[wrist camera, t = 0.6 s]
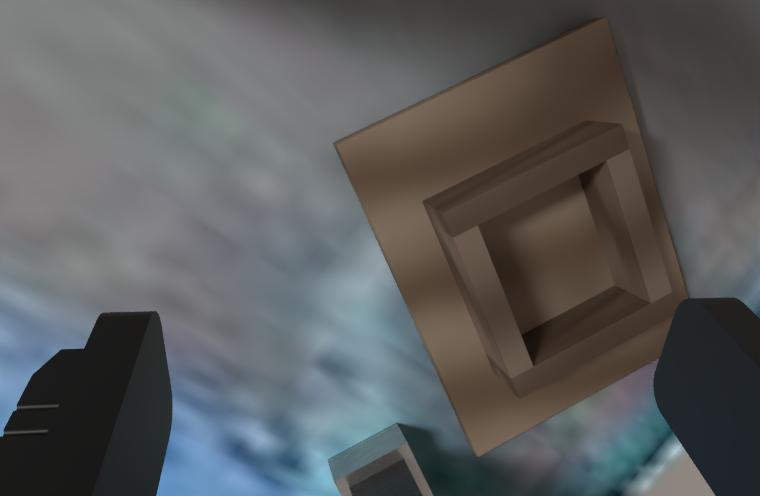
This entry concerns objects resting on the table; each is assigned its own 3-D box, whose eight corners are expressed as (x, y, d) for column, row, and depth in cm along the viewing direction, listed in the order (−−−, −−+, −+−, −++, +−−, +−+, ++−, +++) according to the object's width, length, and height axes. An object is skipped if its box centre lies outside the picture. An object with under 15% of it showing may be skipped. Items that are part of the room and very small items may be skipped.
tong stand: (332, 142, 30) (350, 151, 26) (594, 18, 31) (646, 9, 27) (470, 447, 35) (501, 490, 31) (686, 328, 37) (740, 356, 33)
